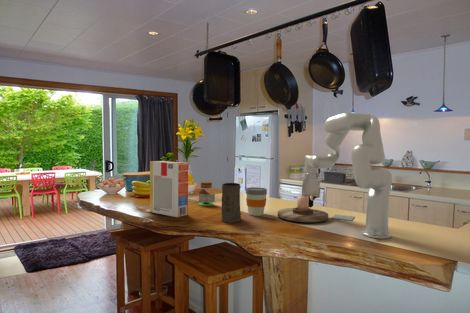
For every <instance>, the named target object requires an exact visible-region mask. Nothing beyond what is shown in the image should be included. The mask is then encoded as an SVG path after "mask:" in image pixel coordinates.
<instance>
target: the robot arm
mask: <svg viewBox="0 0 470 313" xmlns="http://www.w3.org/2000/svg"><path fill="white" fill-rule="evenodd" d="M323 128H324V131H325V132H326V133H327V135H326V137H325V139H324V142H325V144H326V145H327V147H329V148H331V150H330V151H329V153H328V154H326V155H325V154H322V155H320V154H319V155H317V154H316V155H315V154H314V155H313V154H312V155H311V154H307V155H305V157H304V177H303V180H302V185H301V196H307V197H309V208H312V207H313V206H314V201H315V199H318V198H320V197H321V196H320V195H321V183H320V177H321V174H319V169H330V168H333V167H334V166H335V164H336V163H337V162H338V160H339V159H340V157H341V156H340V154H341V148H340V146H341V144H343V141H344V140H345V138H346V136H347V135H348V134H349V133H350V131H359V132H360V131H363V132H362V134H361V141H362V144H357V145H356V146H355V147H353V149H352V151H351V156H350V158H351V165H352V166H351V167H352V170H353V171H352V172H353V177H354V180H355V181H354V182H355V183H356V185H357V186H358V187H359V188H360V189H363V190H368V189H369V190H368V192H367V194H366V209H365V211H366V212H365V214H366V215H365V229H363V230H361V234H362V236H364V237H368V238H372V239H378V240H379V239H380V240H381V239H383V240H385V239H387V240H388V239H390V238H392V233H390V232H389V215H390V214H389V210H390V208H389V207H390V194H391V193H390V192H391V189H392V188H391V187H392V183H393V175H392V172H391V171H390V170H388V169H387V168H386V167H377V166H376V165H380V164H382V163H384V161H385V157H386V156H385V151H384V150H385V149H384V146H383V145H384V144H383V139H382V138H383V137H382V134H381V122H380V120H379V118H378V117H377V116H375V115H373V114H371V113H363V112H362V113H361V112H344V113H339V114H336V115H333V116H330V117H328V118H327V119H326V120H325V122H324V125H323ZM374 165H375V166H376V167H374ZM372 166H373V167H372Z"/></svg>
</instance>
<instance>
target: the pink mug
mask: <svg viewBox="0 0 470 313" xmlns="http://www.w3.org/2000/svg"><path fill="white" fill-rule="evenodd" d="M296 198H297V199H296V202H297V203H296V208H297V210H299V211H309V208H310V207H309V197H307V196H302V195H298V196H297V197H296Z"/></svg>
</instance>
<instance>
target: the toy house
mask: <svg viewBox="0 0 470 313" xmlns="http://www.w3.org/2000/svg"><path fill="white" fill-rule="evenodd" d="M212 184H213V182H211V181H201V182H200V188H201V189H199V191H198V193H197V195H198V203H197V205H198V206H200V207H211V206H214V205H215V201H216V199H215V198H216V197H215V196H216V195H215V193H209V192H207V191H206V190H205V189H212V187H213V185H212Z"/></svg>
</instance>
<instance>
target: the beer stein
mask: <svg viewBox="0 0 470 313" xmlns="http://www.w3.org/2000/svg"><path fill="white" fill-rule="evenodd" d="M241 187H242V186H241V184H240V183H238V182H237V183H236V182H225V183H222V184H221V191H222V192H221V217H220V218H221V219H220V221H222V222H223V223H226V224H228V223H229V224H232V223H239V222H240V221H242V215H241V214H242V213H241Z"/></svg>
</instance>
